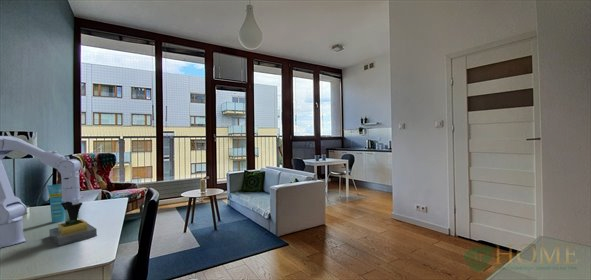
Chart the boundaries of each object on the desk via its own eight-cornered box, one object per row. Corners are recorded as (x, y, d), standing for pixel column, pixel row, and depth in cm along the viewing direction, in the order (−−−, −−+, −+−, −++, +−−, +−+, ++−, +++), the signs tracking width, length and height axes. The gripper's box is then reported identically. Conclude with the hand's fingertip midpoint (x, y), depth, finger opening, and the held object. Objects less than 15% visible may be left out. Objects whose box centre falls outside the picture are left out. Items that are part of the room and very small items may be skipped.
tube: (47, 223, 126) (45, 185, 126) (50, 221, 130) (48, 184, 130) (67, 220, 130) (65, 183, 130) (69, 218, 134) (67, 182, 134)
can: (66, 225, 105) (66, 211, 105) (64, 223, 108) (63, 209, 107) (80, 222, 108) (79, 208, 108) (77, 220, 111) (76, 207, 111)
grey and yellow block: (58, 246, 98) (58, 232, 98) (49, 236, 109) (49, 223, 109) (96, 235, 107) (96, 223, 107) (84, 227, 118) (84, 216, 118)
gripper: (87, 187, 107) (88, 219, 107) (78, 184, 115) (79, 213, 116) (65, 190, 101) (66, 224, 101) (57, 187, 110) (58, 218, 110)
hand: (72, 218), depth 108 cm, fingers closed on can, 4 cm apart
